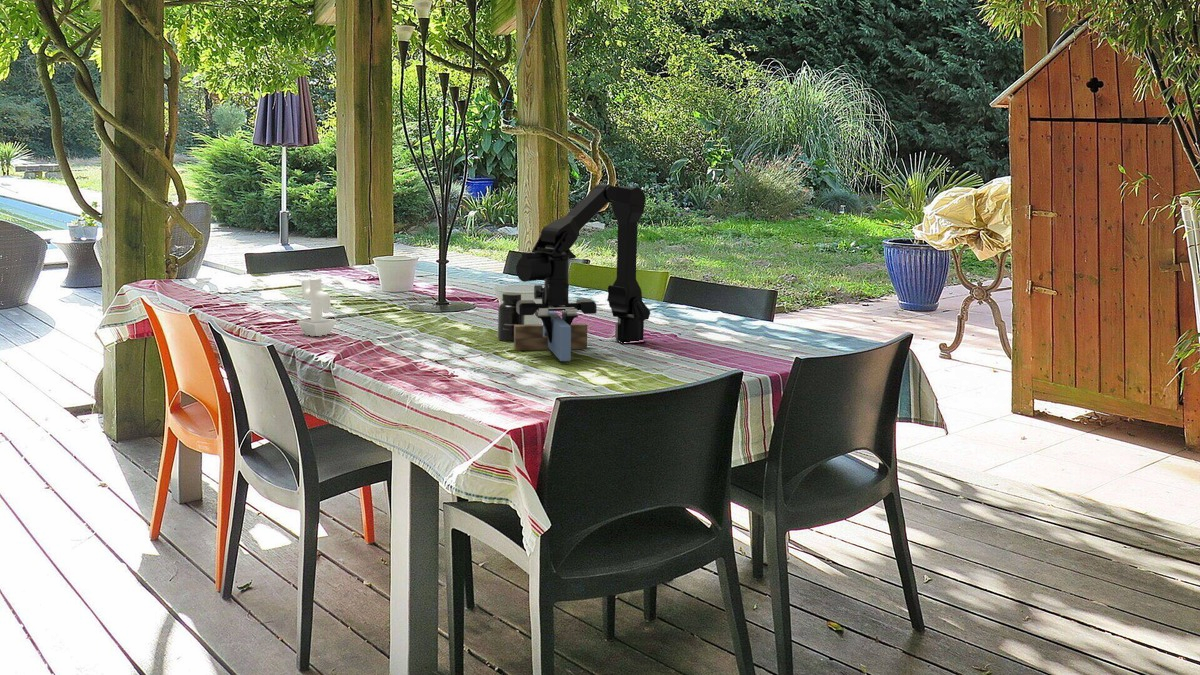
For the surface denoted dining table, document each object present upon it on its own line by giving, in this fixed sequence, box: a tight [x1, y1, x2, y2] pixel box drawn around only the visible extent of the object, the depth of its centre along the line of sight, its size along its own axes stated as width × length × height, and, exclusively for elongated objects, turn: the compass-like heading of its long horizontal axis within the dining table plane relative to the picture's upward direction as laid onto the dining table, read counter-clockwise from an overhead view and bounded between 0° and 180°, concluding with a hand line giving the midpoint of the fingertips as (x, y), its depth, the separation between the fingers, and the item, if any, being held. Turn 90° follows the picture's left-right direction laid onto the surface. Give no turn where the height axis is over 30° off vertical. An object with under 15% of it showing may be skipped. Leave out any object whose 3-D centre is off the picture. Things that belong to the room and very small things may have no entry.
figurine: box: [296, 276, 338, 337], centre depth 270 cm, size 7×9×15 cm
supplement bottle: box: [497, 292, 526, 343], centre depth 268 cm, size 7×7×12 cm
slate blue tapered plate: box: [542, 311, 572, 362], centre depth 251 cm, size 24×2×8 cm, turn 13°
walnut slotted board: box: [513, 322, 588, 352], centre depth 258 cm, size 18×2×6 cm, turn 103°
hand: (556, 342), depth 252 cm, fingers closed on slate blue tapered plate, 2 cm apart
